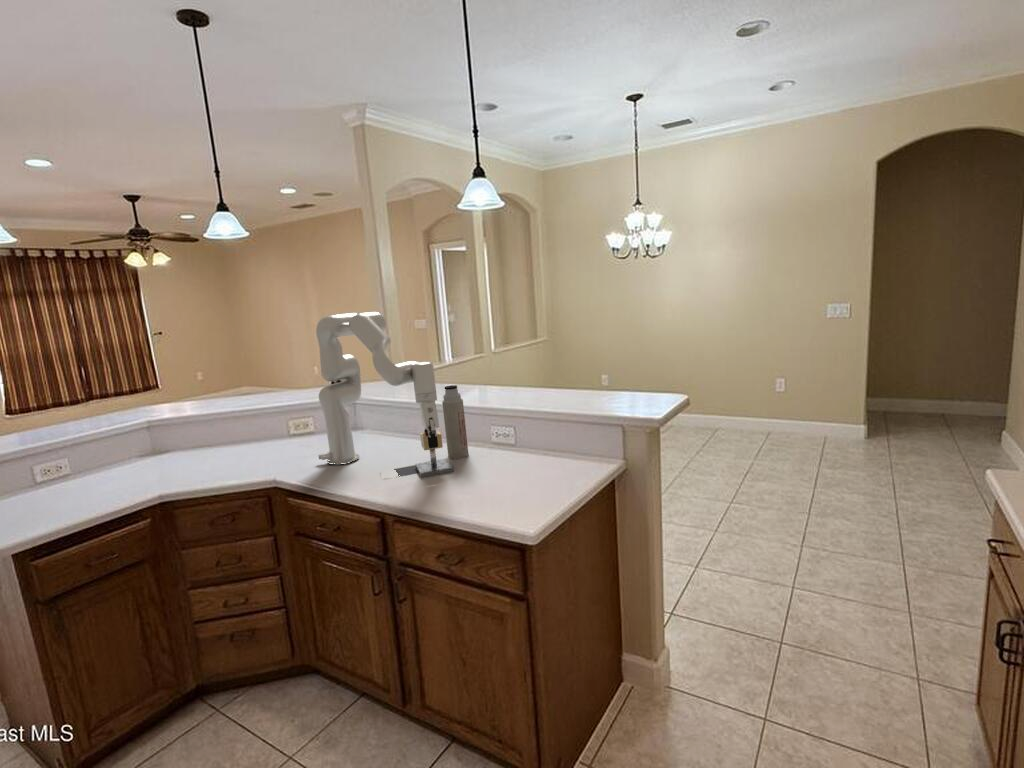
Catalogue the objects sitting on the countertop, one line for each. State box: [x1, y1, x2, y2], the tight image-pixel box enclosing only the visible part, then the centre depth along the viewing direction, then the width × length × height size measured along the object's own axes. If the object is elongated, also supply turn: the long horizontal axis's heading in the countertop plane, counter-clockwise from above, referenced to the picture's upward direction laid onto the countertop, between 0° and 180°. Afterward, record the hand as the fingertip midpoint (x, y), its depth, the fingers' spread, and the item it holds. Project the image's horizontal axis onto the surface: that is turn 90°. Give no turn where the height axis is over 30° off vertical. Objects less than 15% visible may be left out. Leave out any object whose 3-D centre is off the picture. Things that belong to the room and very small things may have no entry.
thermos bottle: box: [441, 384, 469, 459], centre depth 207 cm, size 8×8×28 cm
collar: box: [419, 429, 444, 451], centre depth 191 cm, size 6×6×5 cm
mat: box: [393, 464, 419, 478], centre depth 194 cm, size 14×10×1 cm
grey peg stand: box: [414, 449, 455, 479], centre depth 193 cm, size 12×12×10 cm
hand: (431, 444), depth 192 cm, fingers closed on collar, 6 cm apart
